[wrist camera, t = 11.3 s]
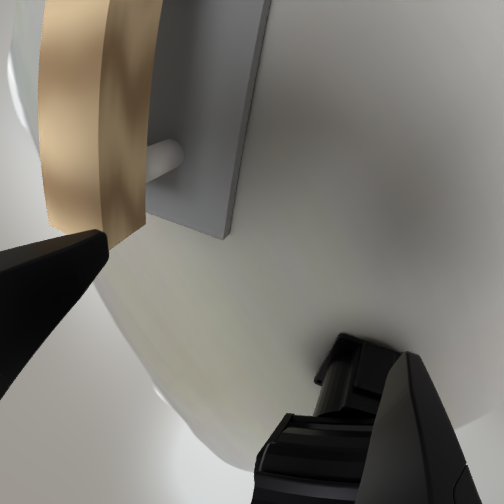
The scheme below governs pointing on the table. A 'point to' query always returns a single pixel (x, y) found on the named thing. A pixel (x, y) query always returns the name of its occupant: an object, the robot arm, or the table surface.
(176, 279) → the table surface
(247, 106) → the peg board
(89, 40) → the oak plank
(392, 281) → the table surface
